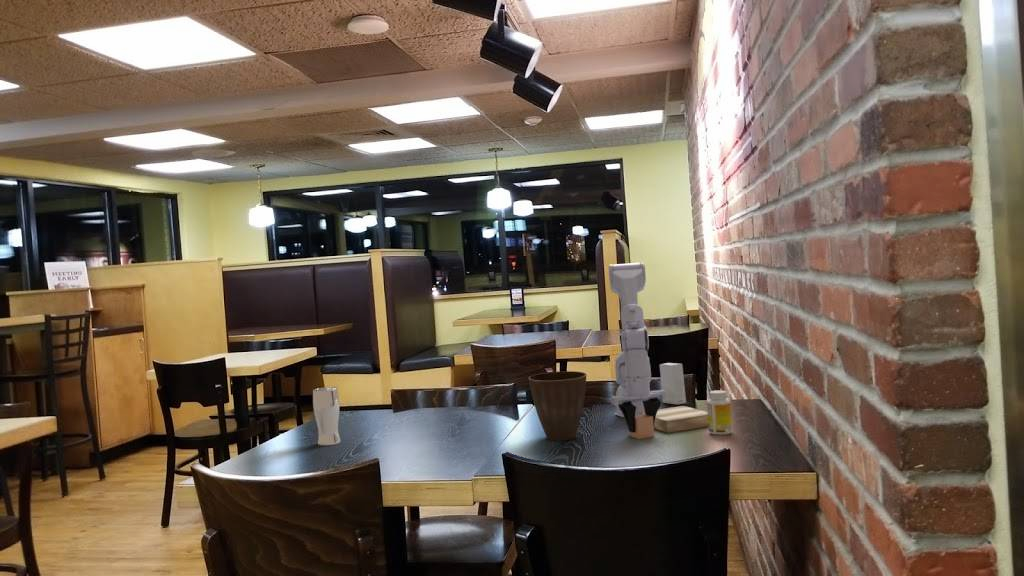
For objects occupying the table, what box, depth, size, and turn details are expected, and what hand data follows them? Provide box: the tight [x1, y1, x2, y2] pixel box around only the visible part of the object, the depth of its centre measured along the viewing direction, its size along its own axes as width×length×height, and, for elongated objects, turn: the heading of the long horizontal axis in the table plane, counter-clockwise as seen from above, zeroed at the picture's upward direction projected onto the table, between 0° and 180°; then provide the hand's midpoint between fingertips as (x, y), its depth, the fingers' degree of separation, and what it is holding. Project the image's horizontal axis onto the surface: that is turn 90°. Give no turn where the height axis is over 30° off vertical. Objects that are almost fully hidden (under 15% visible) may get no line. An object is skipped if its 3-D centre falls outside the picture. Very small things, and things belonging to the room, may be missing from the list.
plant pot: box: [527, 370, 587, 442], centre depth 183 cm, size 15×15×16 cm
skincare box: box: [659, 362, 687, 406], centre depth 218 cm, size 6×4×12 cm
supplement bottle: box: [706, 389, 733, 436], centre depth 175 cm, size 6×6×10 cm
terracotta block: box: [628, 414, 655, 440], centre depth 178 cm, size 4×4×5 cm
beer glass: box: [312, 386, 341, 447], centre depth 196 cm, size 7×7×15 cm
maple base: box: [639, 405, 709, 434], centre depth 188 cm, size 14×14×3 cm
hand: (641, 430), depth 178 cm, fingers closed on terracotta block, 4 cm apart
